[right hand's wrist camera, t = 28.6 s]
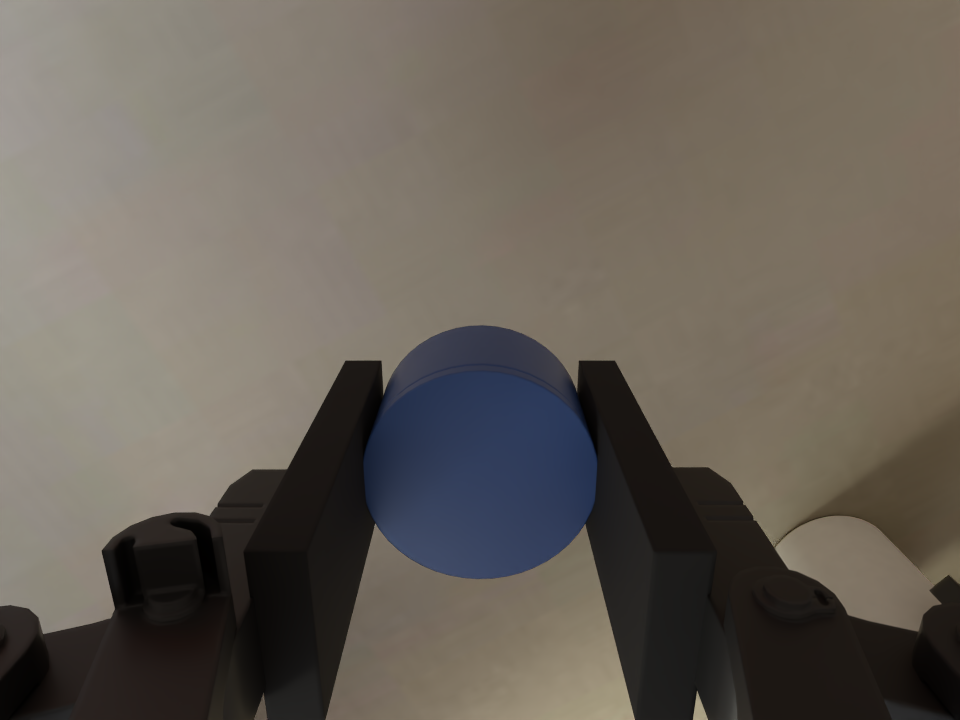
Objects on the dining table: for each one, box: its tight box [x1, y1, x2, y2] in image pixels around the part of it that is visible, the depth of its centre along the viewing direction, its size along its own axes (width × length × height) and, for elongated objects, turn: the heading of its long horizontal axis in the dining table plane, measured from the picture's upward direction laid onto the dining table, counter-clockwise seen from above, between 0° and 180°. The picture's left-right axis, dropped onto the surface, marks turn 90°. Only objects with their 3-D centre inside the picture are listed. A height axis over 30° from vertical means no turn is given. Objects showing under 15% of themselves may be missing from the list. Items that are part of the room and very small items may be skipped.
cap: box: [363, 325, 597, 579], centre depth 13 cm, size 4×4×3 cm
